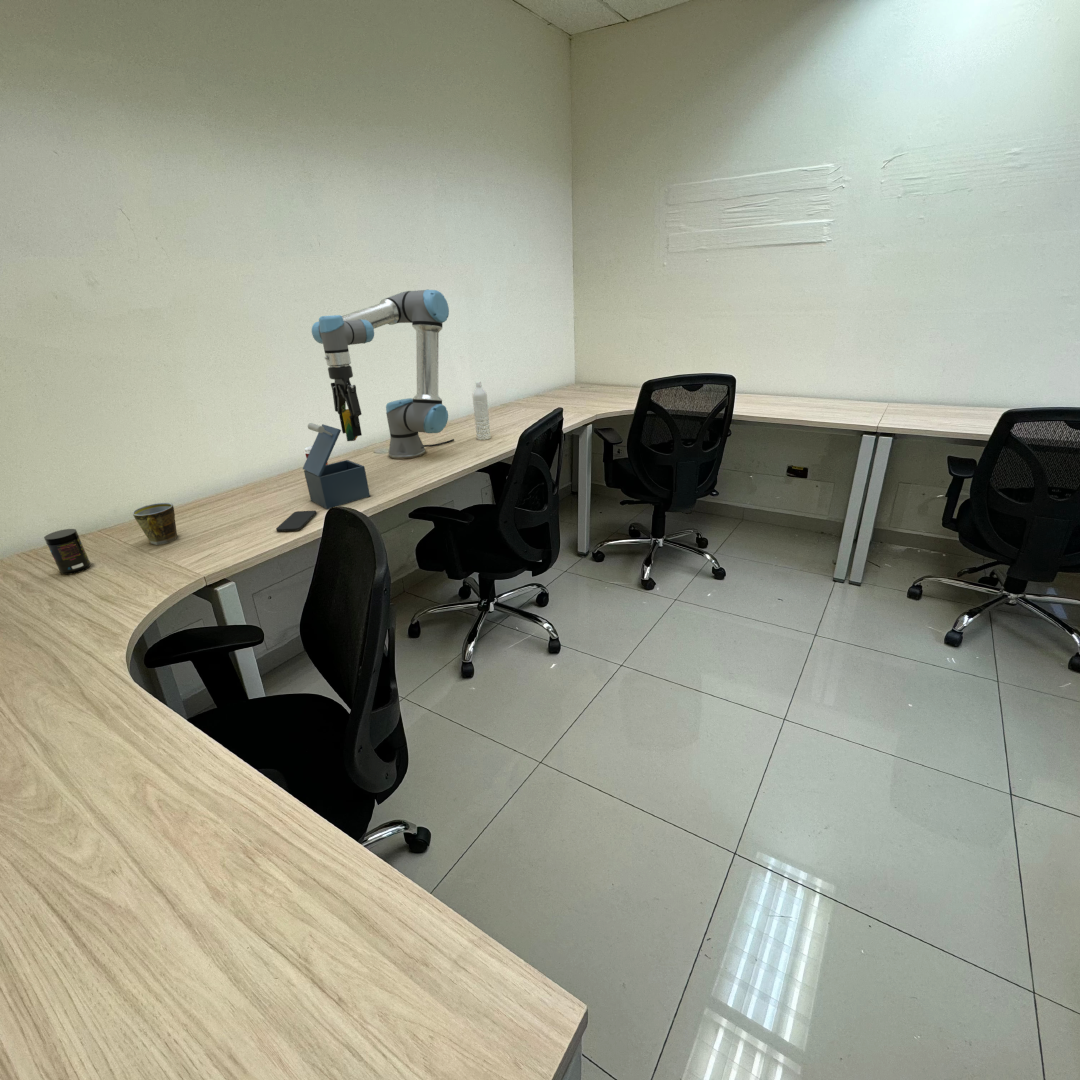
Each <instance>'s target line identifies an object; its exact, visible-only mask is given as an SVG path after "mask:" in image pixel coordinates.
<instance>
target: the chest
mask: <svg viewBox="0 0 1080 1080" xmlns="http://www.w3.org/2000/svg"><path fill="white" fill-rule="evenodd" d="M303 473H304V478H305V482H306V486H307V490H308V494H309V498H310V502H312V503H315V504H316V505H318V506H320V507H322V508H324V509H326V510H329V509H333V508H336V507H339V506H342V505H345V504H349V503H353V502H355V501H356V502H357V501H359V500H362V499H365V498H369V497H371V495H370V494H371V493H370V488H369V484H368V477H367V472H366V467H365V466H364V465H363V464H360V463H358V462H355V461H352V460H349V459H345V460H339V461H336V462H332V463H328V465H326V466H325V468H324V470H323V472H322V475H321V477H320V476H317V475H315V474H313V473H311V472H308V471H306V470H304V469H303ZM335 506H336V507H335ZM332 507H333V508H332Z"/></svg>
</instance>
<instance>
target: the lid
mask: <svg viewBox="0 0 1080 1080" xmlns="http://www.w3.org/2000/svg"><path fill="white" fill-rule="evenodd" d="M307 429H308V430H310V431H313V432H316V433H317V435H316V436H315V437H316V438H315V439H314V441H313V444H312V445H311V446H312V449H311V451H310V453H309V455H308V457H307V458H306V460H305V462H304V465H303V467H302V470H303V471H304V470H306V471H308V472H311V473H313V474H315V475H317V476H320V477H321V475H322V472H323V470H324V468H325V466H326V463H328V461H329V459H330V456H331V455H332V452H333V450H334V447H335V446H336V443H337V441H338V439H339V436H340V435H341V433H342V429H340V428H336V427H333V426H330V425H327V424H324V423H323V424H321V425H318V424H316V423H312V422H309V423H308V424H307Z"/></svg>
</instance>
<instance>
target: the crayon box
mask: <svg viewBox="0 0 1080 1080" xmlns="http://www.w3.org/2000/svg"><path fill="white" fill-rule="evenodd" d="M343 407H344V409H343ZM341 408H342V415H343V420H344V426H345V432H346V433H345V436H346V442H355V441H356V440H357V438H358V437H359V436H356V437H354V436H353V431H352V426H351V420H350V418H349V416H351V414H350V412H349V409H348V408H347V407H346V408H345V404H344V405H343V406H342V407H341Z"/></svg>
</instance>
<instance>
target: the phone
mask: <svg viewBox="0 0 1080 1080" xmlns="http://www.w3.org/2000/svg"><path fill="white" fill-rule="evenodd" d="M316 515H317V511H316V510H298V511H294V512H292V513H291V514H290V515H289V516H288V517H287V518H286V519H285V520H284V521H282V522H281V523H280V524H279V525H278V526H277V527H276V528H275V529H276V530H275V531H276V532H295V531H297V532H298V531H300V530H302V528H304V527H305V526H306V524H308V523H309V521H311V520H312V518H314V517H315V516H316Z"/></svg>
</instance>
